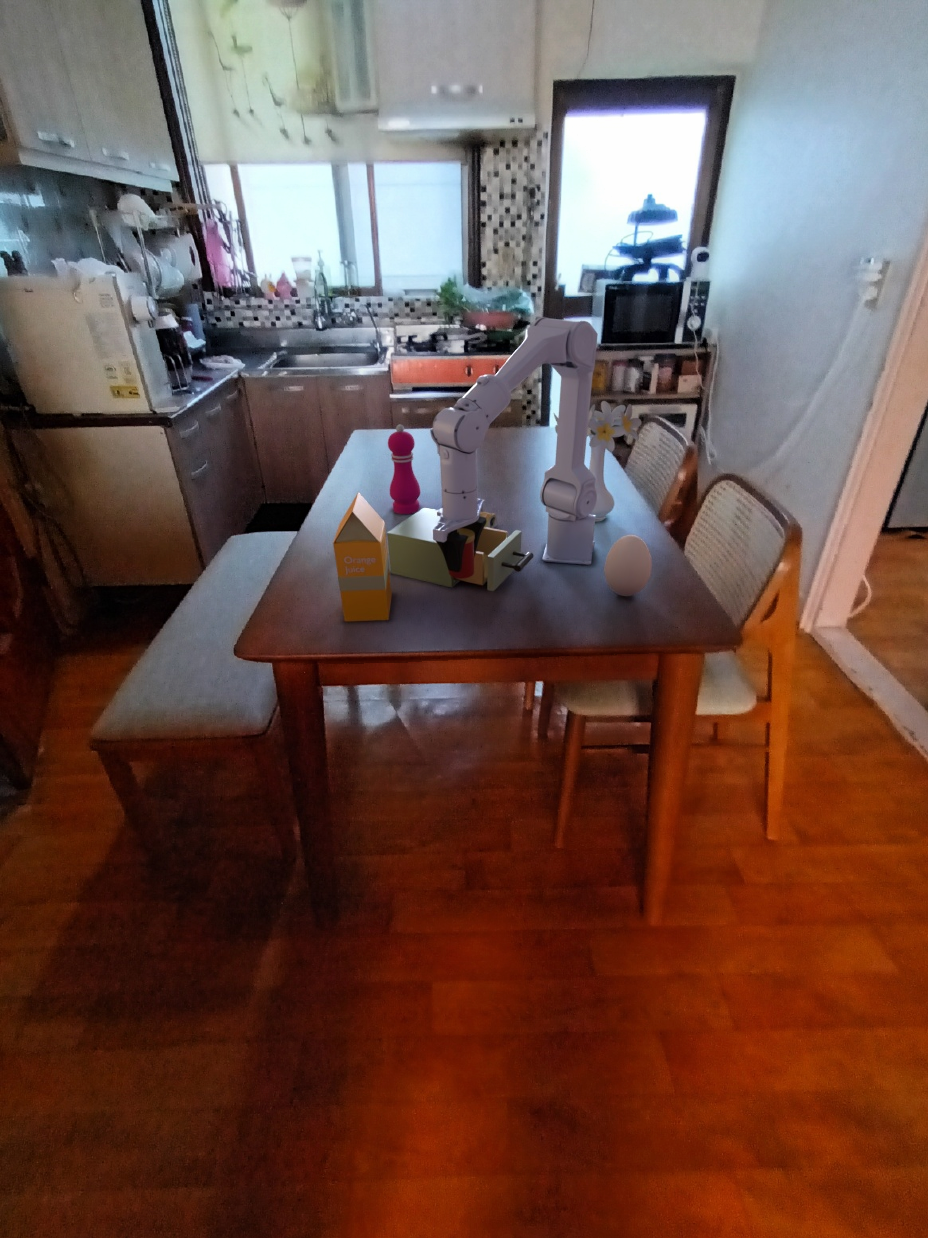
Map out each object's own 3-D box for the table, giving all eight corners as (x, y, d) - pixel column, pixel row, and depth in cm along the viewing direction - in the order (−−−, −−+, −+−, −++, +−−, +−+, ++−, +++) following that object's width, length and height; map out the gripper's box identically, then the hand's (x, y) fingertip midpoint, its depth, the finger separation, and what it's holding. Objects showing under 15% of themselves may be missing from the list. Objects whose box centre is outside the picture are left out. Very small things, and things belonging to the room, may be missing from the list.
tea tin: (477, 567, 108) (477, 529, 104) (472, 580, 104) (471, 540, 100) (451, 565, 109) (450, 527, 105) (444, 577, 105) (443, 538, 101)
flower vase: (545, 508, 147) (550, 398, 133) (622, 505, 147) (635, 396, 134) (553, 530, 136) (560, 414, 122) (637, 527, 136) (653, 411, 123)
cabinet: (484, 557, 125) (484, 518, 121) (452, 587, 115) (450, 545, 110) (426, 545, 131) (424, 507, 126) (390, 573, 121) (386, 532, 116)
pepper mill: (385, 512, 147) (376, 426, 136) (401, 501, 152) (394, 419, 142) (411, 517, 144) (404, 430, 133) (427, 506, 149) (422, 422, 139)
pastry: (449, 529, 137) (448, 513, 135) (462, 519, 142) (461, 503, 140) (488, 536, 134) (488, 519, 132) (500, 524, 139) (500, 508, 137)
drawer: (539, 566, 119) (540, 534, 116) (513, 596, 110) (513, 561, 107) (464, 551, 126) (463, 520, 122) (433, 577, 117) (431, 544, 113)
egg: (593, 594, 112) (598, 536, 106) (618, 579, 116) (624, 522, 110) (631, 610, 107) (639, 550, 101) (655, 593, 111) (665, 535, 105)
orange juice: (392, 594, 113) (382, 489, 103) (389, 620, 106) (377, 510, 95) (349, 596, 113) (335, 491, 103) (343, 621, 106) (326, 511, 95)
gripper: (458, 470, 105) (460, 543, 112) (413, 498, 94) (419, 577, 102) (496, 476, 102) (495, 550, 110) (454, 506, 92) (457, 586, 99)
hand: (461, 564), depth 105 cm, fingers closed on tea tin, 4 cm apart
